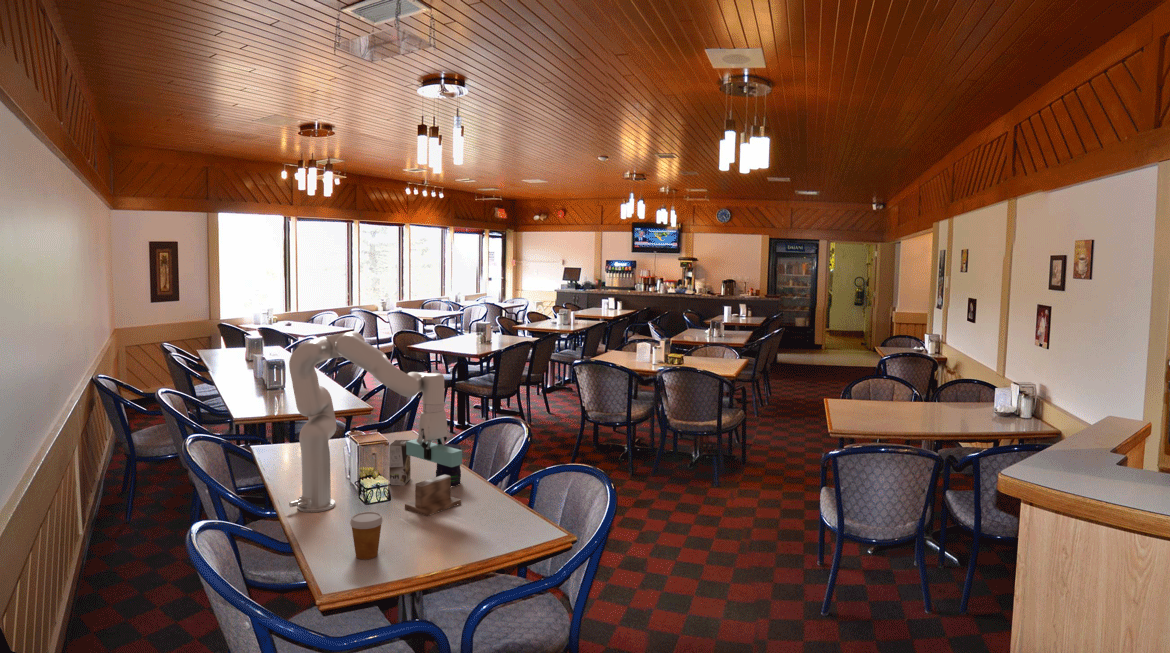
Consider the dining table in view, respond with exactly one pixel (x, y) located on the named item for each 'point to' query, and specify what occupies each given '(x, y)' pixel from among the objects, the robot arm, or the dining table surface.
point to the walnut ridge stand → (433, 496)
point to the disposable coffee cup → (366, 534)
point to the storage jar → (450, 469)
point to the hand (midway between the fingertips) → (433, 457)
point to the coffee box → (399, 463)
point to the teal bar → (435, 453)
